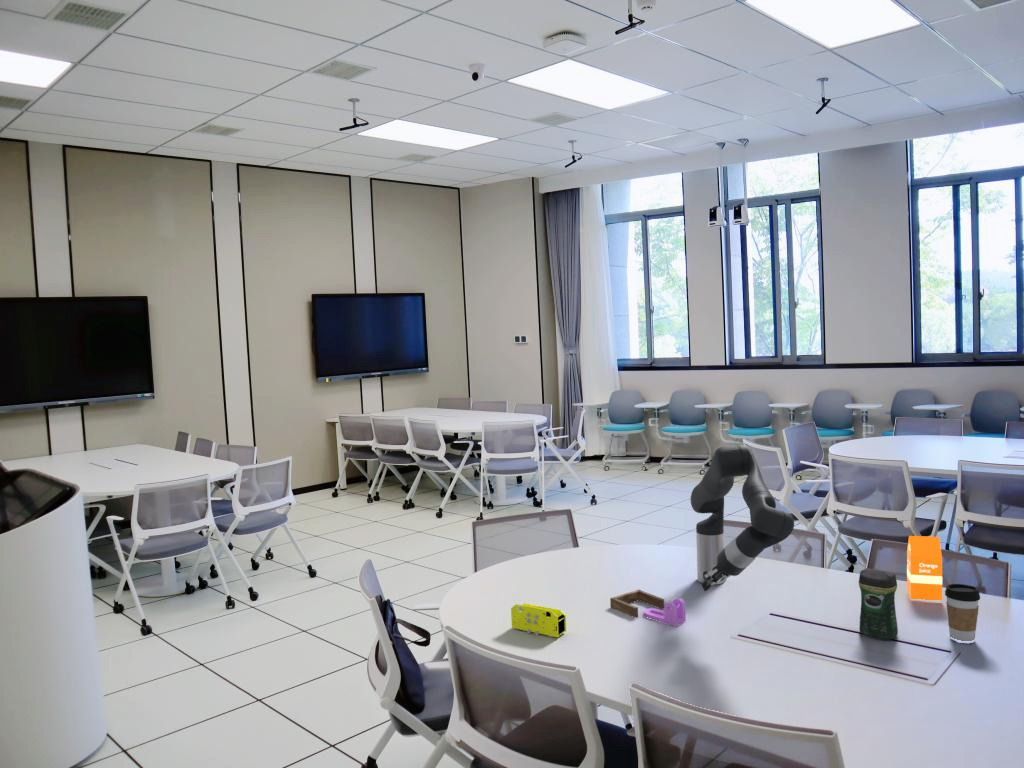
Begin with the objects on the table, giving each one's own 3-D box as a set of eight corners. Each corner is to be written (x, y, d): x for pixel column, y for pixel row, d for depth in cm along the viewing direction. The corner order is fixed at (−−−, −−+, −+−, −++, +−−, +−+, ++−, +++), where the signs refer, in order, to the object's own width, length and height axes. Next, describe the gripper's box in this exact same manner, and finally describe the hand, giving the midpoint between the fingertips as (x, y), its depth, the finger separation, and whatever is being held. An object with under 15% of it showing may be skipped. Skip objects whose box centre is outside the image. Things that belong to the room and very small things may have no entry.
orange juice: (942, 603, 239) (942, 540, 238) (910, 601, 242) (910, 538, 241) (937, 594, 247) (937, 533, 245) (906, 592, 250) (906, 532, 248)
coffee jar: (901, 634, 218) (901, 570, 216) (891, 643, 212) (891, 577, 211) (865, 626, 225) (865, 563, 223) (855, 634, 219) (854, 570, 218)
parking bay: (639, 598, 254) (638, 589, 254) (664, 608, 245) (664, 599, 245) (610, 607, 248) (610, 598, 247) (635, 617, 238) (634, 608, 238)
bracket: (685, 621, 234) (685, 599, 233) (674, 627, 230) (674, 604, 230) (651, 611, 243) (650, 589, 243) (640, 616, 240) (639, 594, 239)
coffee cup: (967, 648, 207) (968, 594, 206) (938, 637, 215) (938, 585, 213) (986, 641, 211) (987, 588, 210) (956, 631, 218) (956, 579, 217)
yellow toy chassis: (511, 630, 233) (510, 603, 232) (521, 624, 237) (520, 597, 237) (557, 640, 224) (556, 612, 223) (566, 633, 229) (565, 606, 228)
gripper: (745, 539, 216) (713, 571, 227) (713, 548, 209) (681, 581, 220) (761, 562, 212) (727, 593, 223) (729, 572, 204) (695, 604, 216)
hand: (704, 587), depth 221 cm, fingers closed
